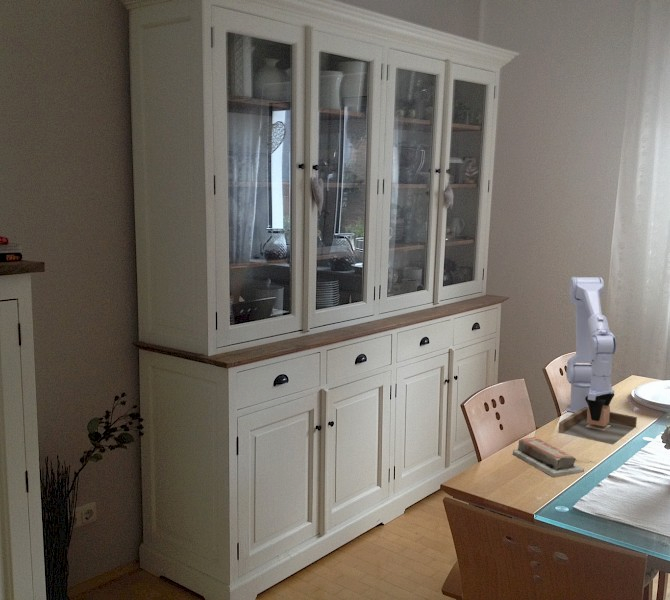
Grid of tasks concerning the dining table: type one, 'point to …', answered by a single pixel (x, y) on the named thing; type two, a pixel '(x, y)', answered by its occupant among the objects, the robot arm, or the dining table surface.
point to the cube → (603, 418)
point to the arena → (598, 427)
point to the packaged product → (546, 457)
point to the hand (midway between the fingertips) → (598, 418)
